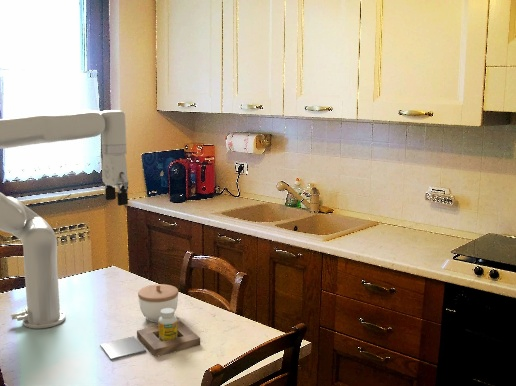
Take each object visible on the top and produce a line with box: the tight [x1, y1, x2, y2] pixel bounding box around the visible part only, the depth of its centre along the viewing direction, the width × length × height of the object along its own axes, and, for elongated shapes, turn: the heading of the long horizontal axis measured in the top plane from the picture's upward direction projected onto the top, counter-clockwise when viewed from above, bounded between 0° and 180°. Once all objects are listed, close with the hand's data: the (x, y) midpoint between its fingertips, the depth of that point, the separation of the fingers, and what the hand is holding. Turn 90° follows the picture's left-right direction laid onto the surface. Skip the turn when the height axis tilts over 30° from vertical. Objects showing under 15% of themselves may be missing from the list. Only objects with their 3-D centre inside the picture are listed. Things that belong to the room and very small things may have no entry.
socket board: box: [136, 320, 201, 357], centre depth 166 cm, size 14×14×2 cm
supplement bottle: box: [158, 308, 178, 342], centre depth 165 cm, size 5×5×10 cm
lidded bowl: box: [137, 283, 179, 323], centre depth 181 cm, size 13×13×11 cm
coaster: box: [99, 336, 147, 362], centre depth 161 cm, size 10×10×1 cm
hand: (116, 202), depth 183 cm, fingers open, 9 cm apart
